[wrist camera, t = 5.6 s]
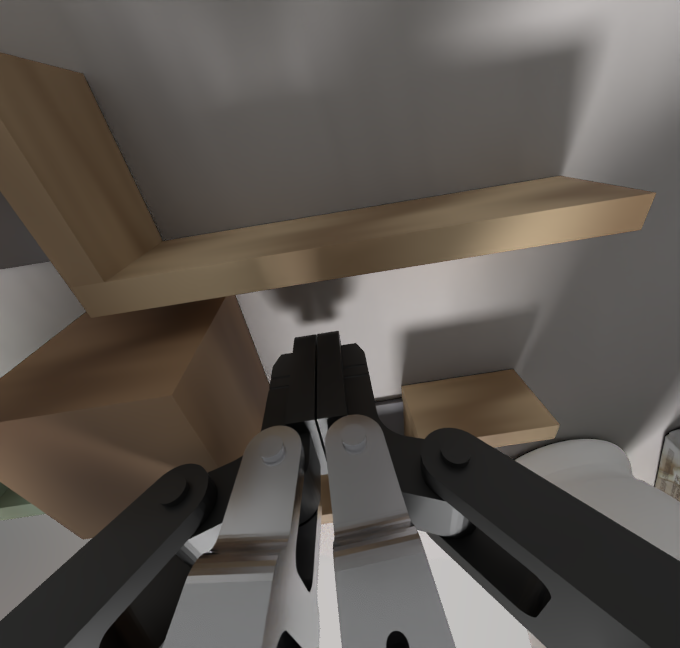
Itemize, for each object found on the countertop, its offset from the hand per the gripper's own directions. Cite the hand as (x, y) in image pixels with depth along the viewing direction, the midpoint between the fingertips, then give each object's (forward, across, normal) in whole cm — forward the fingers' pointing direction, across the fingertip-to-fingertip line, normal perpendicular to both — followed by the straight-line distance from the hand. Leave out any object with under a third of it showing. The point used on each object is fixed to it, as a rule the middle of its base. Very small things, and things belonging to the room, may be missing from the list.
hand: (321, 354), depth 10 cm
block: (+1, +5, 0) cm, 5 cm away
